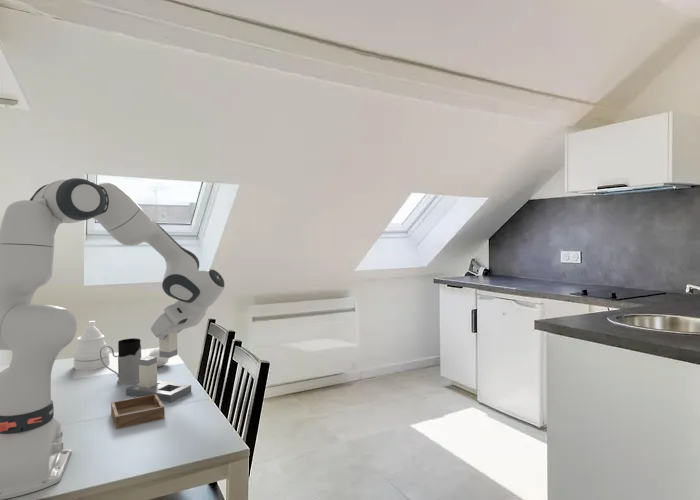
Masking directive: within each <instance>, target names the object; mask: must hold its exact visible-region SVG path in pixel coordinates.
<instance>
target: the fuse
mask: <svg viewBox="0 0 700 500" xmlns="http://www.w3.org/2000/svg"><path fill="white" fill-rule="evenodd" d="M157 380H158V367H157V357H152V356H149V355H145V356H144V357H141V359H139V382H138V383H139V385H140V387H142V388H148V389H149V388H151V387H153V386H156V385H157Z"/></svg>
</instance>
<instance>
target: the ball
mask: <svg viewBox="0 0 700 500" xmlns="http://www.w3.org/2000/svg"><path fill="white" fill-rule="evenodd" d="M148 356H152V357H157V368H159V367H163V366H165V365H166V364H167V363H168V362H169V360H170V358H165V357H160V354H159V347H157V348H154V349H152V350H151V351H150V352H149V355H148Z"/></svg>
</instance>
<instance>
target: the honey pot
mask: <svg viewBox="0 0 700 500" xmlns="http://www.w3.org/2000/svg"><path fill="white" fill-rule="evenodd" d="M96 321H97V320H89V321H88V326H87V327H86V328H85V329H84V330H83V332H82V333H81V336H78V337H77V338H76V341H77V342H78V343H77V345H76V349H75V352H74V354H73V368H74V369H75V370H78V371H87V370H95V369H96V370H97V369H100V368H104V367H105V366H104V365H103V363H102V361H101V359H100V350H101V348H103V347H105V346H107V343H106V341H105V339H104V338H105V335H104V334H103V333H102V332H101V331H100V330H99V329H98V328H97V327H96V326H95V325H96ZM101 357H102V360H103V362H104V363H105V365H106V366H107V367H108V366H109V365H110V363H111V362H110V350H109V347H105V348H103V349H102V350H101Z"/></svg>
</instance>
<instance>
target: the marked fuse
mask: <svg viewBox="0 0 700 500" xmlns="http://www.w3.org/2000/svg"><path fill="white" fill-rule="evenodd" d="M166 336H167V337H166V338H165V339H163V340H160V339H159V338H158V342H159V343H158V348H159V354H160V357H165V358H169V359H171V358H173V357H176V356H178V334H177V331H176V332H173V333H170V334H167V335H166Z"/></svg>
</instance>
